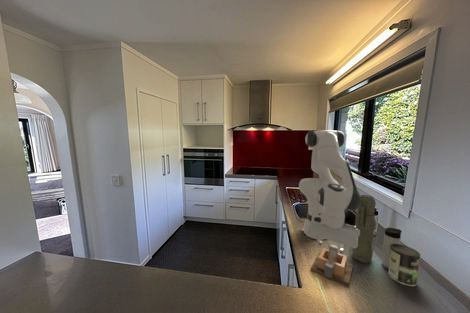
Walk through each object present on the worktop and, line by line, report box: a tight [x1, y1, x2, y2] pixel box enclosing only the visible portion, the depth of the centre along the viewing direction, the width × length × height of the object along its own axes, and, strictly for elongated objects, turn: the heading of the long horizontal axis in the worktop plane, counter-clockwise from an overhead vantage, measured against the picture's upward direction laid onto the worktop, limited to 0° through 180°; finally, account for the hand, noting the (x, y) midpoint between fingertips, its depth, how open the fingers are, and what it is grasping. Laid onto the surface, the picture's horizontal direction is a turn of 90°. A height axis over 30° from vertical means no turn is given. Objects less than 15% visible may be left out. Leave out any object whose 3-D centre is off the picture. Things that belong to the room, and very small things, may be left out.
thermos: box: [352, 194, 377, 264], centre depth 101 cm, size 9×12×35 cm
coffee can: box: [387, 243, 421, 287], centre depth 87 cm, size 10×10×14 cm
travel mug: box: [381, 227, 402, 270], centre depth 95 cm, size 6×7×20 cm
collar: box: [318, 247, 348, 279], centre depth 90 cm, size 15×11×5 cm
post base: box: [310, 244, 354, 287], centre depth 92 cm, size 16×16×12 cm
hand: (330, 249), depth 85 cm, fingers open, 8 cm apart
